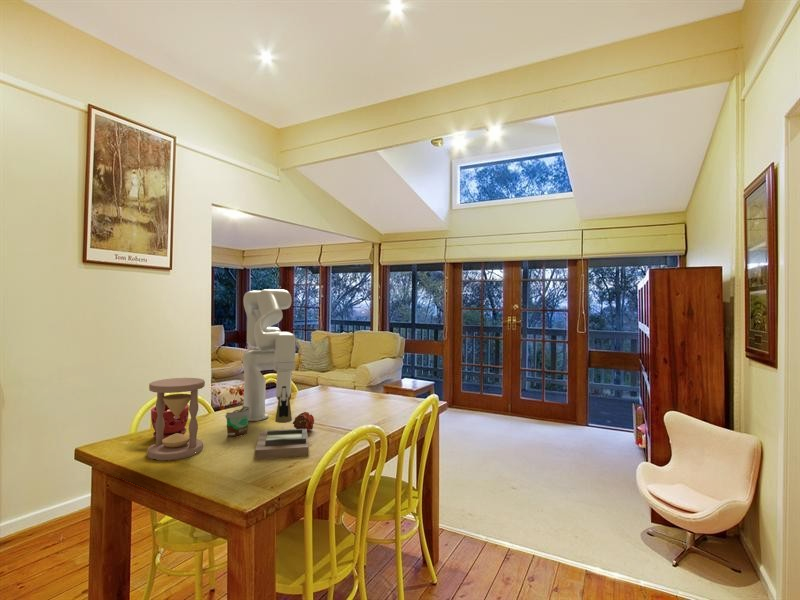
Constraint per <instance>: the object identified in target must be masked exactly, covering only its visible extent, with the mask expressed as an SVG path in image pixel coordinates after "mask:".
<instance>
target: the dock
mask: <svg viewBox="0 0 800 600" xmlns="http://www.w3.org/2000/svg"><path fill="white" fill-rule="evenodd" d="M308 439H309V437H308V430H307V429H296V428H294V429H293V428H292V429H290V428H289V429H276V430H275V429H273V430H263V431H262V430H260V431H259V435H258V438H257V442H256V446H255V451H254V460H259V459H262V460H264V459H275V458H276V459H277V458H290V457H291V456H293V457H305V456H304V455H307V456H309V453H310V452H309V451H310V450H309V440H308ZM291 458H292V457H291Z"/></svg>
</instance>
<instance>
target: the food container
mask: <svg viewBox="0 0 800 600" xmlns="http://www.w3.org/2000/svg"><path fill="white" fill-rule="evenodd" d="M250 413H251V412H250V409H249V407H247V406H244V405H242V408H240V409H235V410H233V411H232V412H226V413H225V418H226V434H227V435H226V437H227V438H236V437H237V436H238V437H242V436H245V435H247V434H248V427H249V426H248V425H249V421H248V418H249V414H250ZM244 434H245V435H244ZM241 435H242V436H241Z"/></svg>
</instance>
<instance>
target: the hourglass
mask: <svg viewBox="0 0 800 600" xmlns="http://www.w3.org/2000/svg"><path fill="white" fill-rule="evenodd" d="M205 386H206V384H205V380H204V378H199V377H196V378H195V377H176V378H175V377H173V378H164V379H159V380H154V381H151V382H150V383H149V384H148V389H149V391H150V392H153V393H156V402H155V406H156V411H157V415H158V417H157V420H156V423H155V429H156V438H155V443H153V444H151V445H150V446H149V447H148V448H147V453H146V454H147V458H149V459H150V458H151V460H153V459H156V460H155V461H166V460H168V461H174V460H175V461H176V460H182V459H186V458H190V457H193V456H195V455H197V454H199V453H200V452H202V450H203V449H204V442H203V440H201V439H198V438H197V434H198V429H199V424H198V420H197V415H198V411H199V399H198V398H199V397H198V396H199V390H200V389H203V388H204V387H205ZM186 392H190V393H186ZM165 394H167V395H165ZM165 404H166V405H167V406H168V408H169V409H170V410H171V411H172V413H173V414H174V415H175V417H174V418H175V419H179V418H180V416H179V415H180V413H181V412H182V411H183V409H184V408H185V407H186V405H187V404H188V406H189V415H190V420H189V424H188V433H189V435H188V434H184V435H183V434H179V433H175V434H173V435H171V436H169V437H166V438H164V439H163V431H164V427H165V422H164V418H163V412H164V409H165ZM170 410H169V411H170ZM195 452H196V453H195ZM173 459H174V460H173Z"/></svg>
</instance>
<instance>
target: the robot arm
mask: <svg viewBox="0 0 800 600" xmlns="http://www.w3.org/2000/svg"><path fill="white" fill-rule="evenodd" d="M242 302H243V307H244V311H245V314H246V317H247V319H246V343H247V346H248V347H251V348H257V349H253V350H252V349H251V350H248V351H246V352H245V353H244V354H243V355H242V364H243V365H242V366H243V374H244V375H243V377H244V378H243V406H247V407H249V409H250V412H251V413H250V414H249V418H248V422H259V421H264V420H265V419H268V418H269V414H268V412H266V384H267V383H266V382H267V381H266V378H265V376H264V375H263V374H262V373H261V371H269V370H270V371H272V370H273V371H275V372H276V388H275V389H276V393H275V398H276V399H277V398H278V397H280V406H279V417H283V416H285V417H288V398H289V397H290V393H291V389H292V372H293V371H296V344H297V343H296V342H297V341H296V339H297V338H296V334H294V333H291V331H281V329H280V328H279V327H278V326H277V327H276V326H274V325H277V324H278V323H280V322H281V321H282V320H283V317H284V316H283V314H284V313H283V311H282V310H287V309H289V308H290V307H291V305H292V295H291V293H290V292H289V291H288V290H286V289H276V288H275V289H273V288H268V289H267V288H265V289H262V290H250V291H247V292H245V293H244V295H243V301H242ZM281 396H282V397H281ZM286 396H287V397H286ZM281 405H282V406H281Z"/></svg>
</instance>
